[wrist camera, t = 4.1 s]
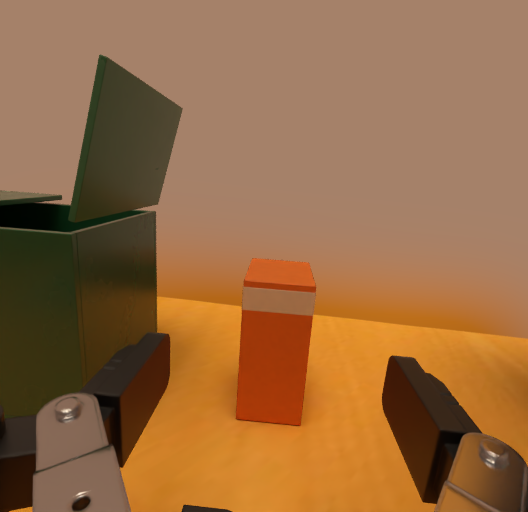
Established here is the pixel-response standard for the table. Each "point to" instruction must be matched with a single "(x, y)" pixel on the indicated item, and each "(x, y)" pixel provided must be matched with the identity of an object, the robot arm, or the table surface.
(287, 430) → the table surface
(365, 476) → the table surface
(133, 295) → the green flap box
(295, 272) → the block
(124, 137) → the green box lid flap
